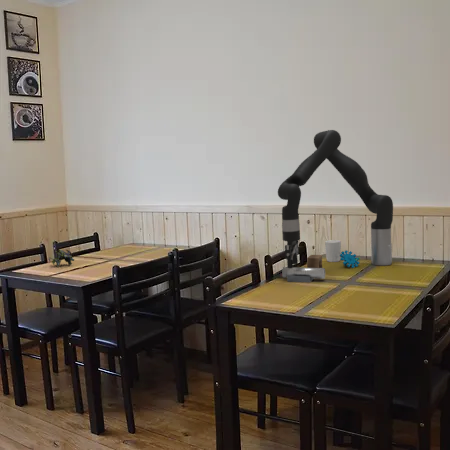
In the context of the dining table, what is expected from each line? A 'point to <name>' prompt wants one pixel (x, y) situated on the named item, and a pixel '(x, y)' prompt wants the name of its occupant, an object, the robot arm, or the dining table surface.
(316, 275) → the axle
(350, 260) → the gear
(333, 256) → the white cup
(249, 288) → the dining table surface
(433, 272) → the dining table surface
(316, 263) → the brown block
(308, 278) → the v block
